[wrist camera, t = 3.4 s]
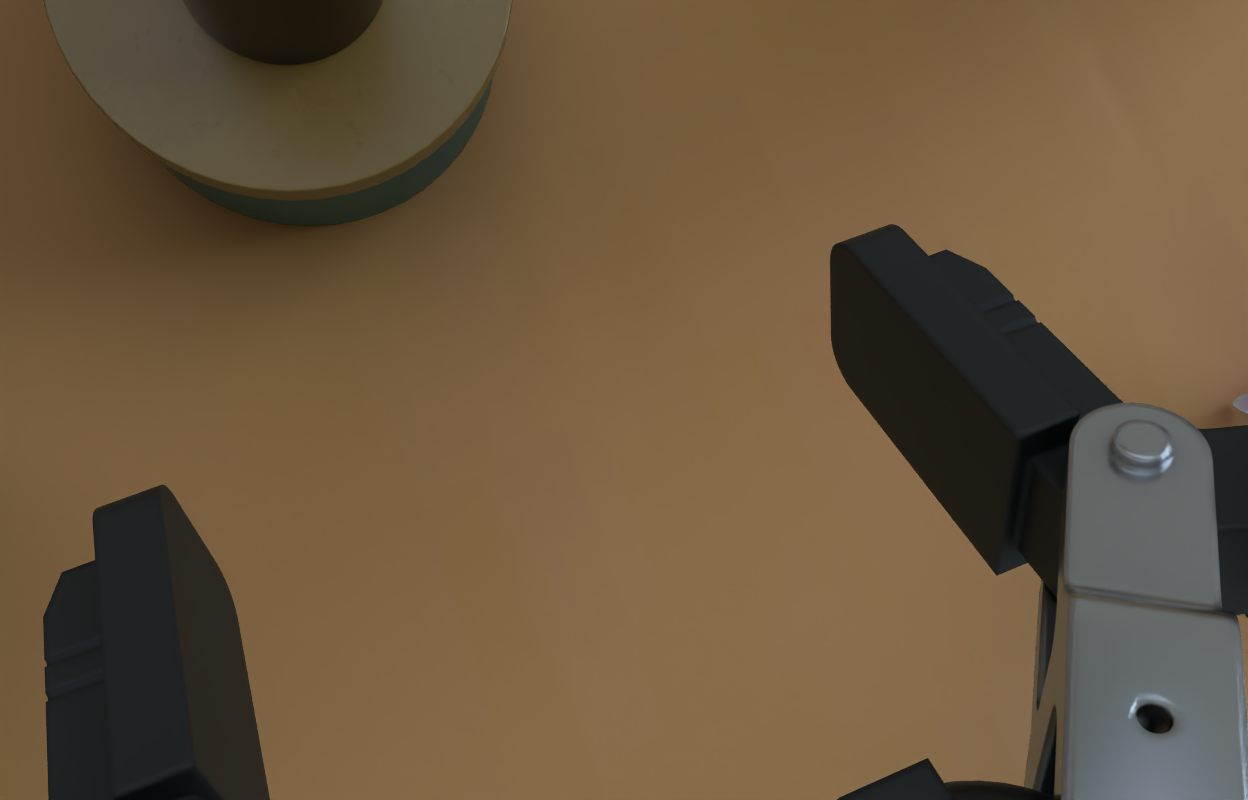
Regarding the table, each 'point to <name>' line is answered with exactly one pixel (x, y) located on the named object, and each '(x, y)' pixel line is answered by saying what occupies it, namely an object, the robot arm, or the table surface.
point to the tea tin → (284, 26)
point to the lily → (1241, 403)
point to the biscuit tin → (291, 102)
